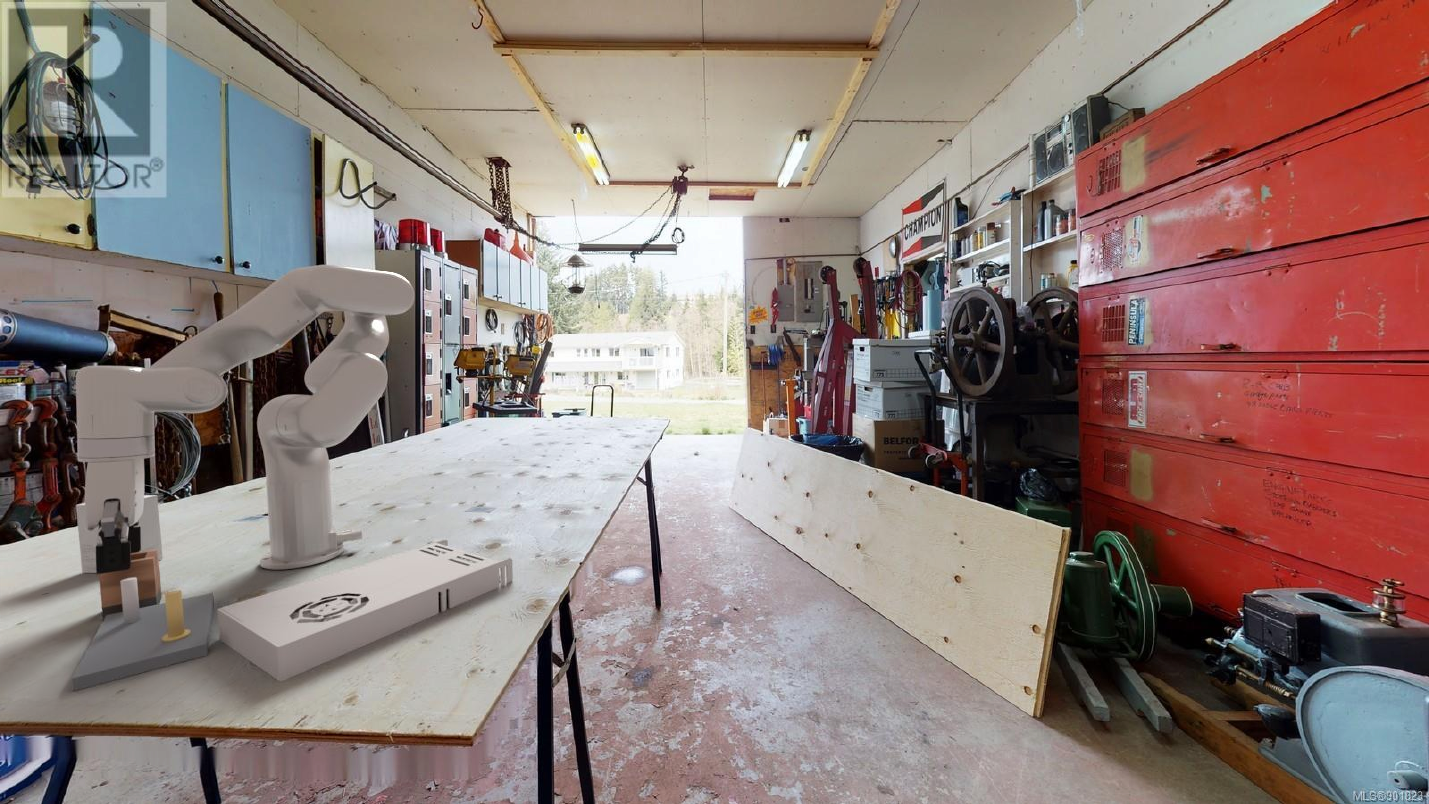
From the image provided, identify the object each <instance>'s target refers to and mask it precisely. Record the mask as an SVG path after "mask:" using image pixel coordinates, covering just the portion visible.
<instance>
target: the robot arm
mask: <svg viewBox="0 0 1429 804" xmlns="http://www.w3.org/2000/svg"><path fill="white" fill-rule="evenodd" d="M415 296H416V295H415V291H414V288H413V285H412V284H411V283H410V281H409V280H407V279H406V278H405V277H404V276H403V275H401V274H398V273H395V272H390V271H381V270H374V269H368V268H367V269H365V268H357V267H349V266H341V265H335V264H334V265H333V264H319V265H312V266H304V267H297V268H294V269H291V270H290V271H288V272H286V273H285V274H283V275H282V276H280V277H279V278H278V279H276V280H275V281H274V282H273V283H271V284H270V285H269V286H267V287H266V288H265V289H263V290H262V291H260V292H259V293H258V294H257V295H256V296H254V297H253V298H252V299H250V300H249V301H247V302H246V303H245V304H243V305H242V306H241V307H239V308H238V309H236V310H235V311H234V312H232V313H231V314H229V315H228V316H226V317H224V318H222V319H220V320H218V321H217V322H216V323H213V324H212V325H210V326H208V327H207V328H206V329H204V330H202V331H200V332H199V333H197V334H195V335H194V336H191V337H190V338H188V339H187V340H185V341H183V342H182V343H181V344H179V345H178V346H176V347H175V348H173V349H172V350H171V351H169V352H167V353H166V354H165V355H163V356H162V357H161V358H160V359H158V360H157V361H156V362H154V363H153V364H151V365H150V366H149V367H148V368H144V367H141V366H140V367H139V366H128V365H127V366H126V365H89V366H84V367H82V368H79V370H78V371H77V373H76V375H75V395H76V396H75V398H76V402H75V403H76V437H77V438H76V439H77V440H76V441H77V442H76V443H77V461H78V462H80V463H87V467H86V473H85V483H84V484H85V485H84V486H85V487H84V503H85V513H84V529H85V530H87V531H92V530H93V529H94V528H96V527H97V526H98V525H99V529H98V536H97V545H96V572H97V573H96V574H98V575H99V574H102V573H109V572H115V571H122V570H128V569H129V568H130V567H131V553H136V552H139V551H140V550H141V526H139V518H140V517H141V515H142V513H143V506H144V495H145V459H149V458H153V457H154V458H155V456H156V453H155V452H156V448H155V447H156V446H155V445H156V444H155V443H156V442H155V441H156V440H155V438H156V437H155V412H161V413H163V412H165V413H166V412H167V413H180V414H181V413H182V414H202V413H206V412H209V411H212V410H214V409H216V408H218V407H219V406H220V405H221V404H223V402H224V401H225V400H226V398H227V396H228V386H227V383H226V381H225V380H224V378H223V377H222V375H224V374H225V373H227V372H229V371H230V370H232V369H234V368H235V367H237V366H239V365H242V364H244V363H246V362H249V361H251V360H254V359H257V358H260V357H264V356H266V355H269V354H272V353H274V352H276V351H277V350H279V349H281V348H282V347H284V346H286V344H287V343H289V342H290V341H291V340H292V339H293V338H294V337H296V335H298V334H299V333H300V332H301V331H303V330H304V329H305V328H306V327H307V326H308V325H309V324H310V323H312V322H313V321H314V320H315V319H316V318H317V317H319V316H320V315H322V314H323V313H324V312H343V314H344V325H343V326H342V329H341V330H340V332H339V333H338V334H337V335H336V337H335V338H334V339H333V340H332V341H331V342H330V343H329V344H328V345H327V346H326V347H325V349H324V350H323V351H321V352H320V354H319V355H318V356H317V357H316V358H315V359H314V360H313V361H312V362H311V363H310V364H309V366H308V367H307V369H306V371H305V372H304V373H305V374H304V383H305V386H306V387H307V389H308V390H309V392H311V393H313V394H311V395H310V394H284V395H280V396H277V397H275V398H273V399H270V400H269V401H267V402H266V404H264V406H262V408H261V409H260V411H259V413H258V416H257V419H256V420H257V421H256V425H257V432H258V437H259V439H260V440H259V441H260V445H261V448H262V451H263V458H264V466H265V467H264V468H265V479H266V480H265V481H266V498H267V499H266V500H267V516H268V530H269V531H268V532H269V533H268V534H269V549H270V552H268V553H266V554H264V555H263V556H262V557H260V559H259V565H260V567H261V568H264V569H267V570H274V571H275V570H279V571H280V570H292V569H300V568H303V567H304V568H305V567H309V566H313V565H317V564H320V563H324V562H327V561H329V560H332V559H334V558H336V557H338V556H340V555H341V554H342V553H343V552H344V543H345V542H350V541H351V542H352V541H358V540H362V539H363V531H362V529H356V530H353V529H347V530H343V531H338V530H336V528H335V527H334V526H333V508H332V507H333V506H332V487H331V466H330V465H331V464H330V459H329V454H328V450H327V448H330V447H334V446H336V445H338V444H340V443H343V442H344V441H345V440H346V439H347V438H348V437H349V436H350V435H351V434H352V433H354V431H355V430H356V429H357V427H358V426H359V425H360V424H361V422H362V421H363V420H364V418H365V417H366V416H367V415H368V414H369V413H370V411H371V410H372V409H373V408H374V406H375V404H377V403H378V401H379V399H380V398H381V397H382V395H383V394H384V392H385V390H386V389H387V388H386V387H387V385H388V377H389V376H388V370H387V367H386V365H385V364H384V363H383V361H382V360H381V359H380V358H381V357H382V356H383V354H384V353H385V351H386V350H387V348H388V345H389V341H390V332H389V326H388V321H387V319H386V316H394V315H395V316H396V315H401V314H403V313H405V312H408V310H410V309H411V308H412V307H413V305H414V303H415V302H414V301H415ZM136 526H139V527H136Z"/></svg>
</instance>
